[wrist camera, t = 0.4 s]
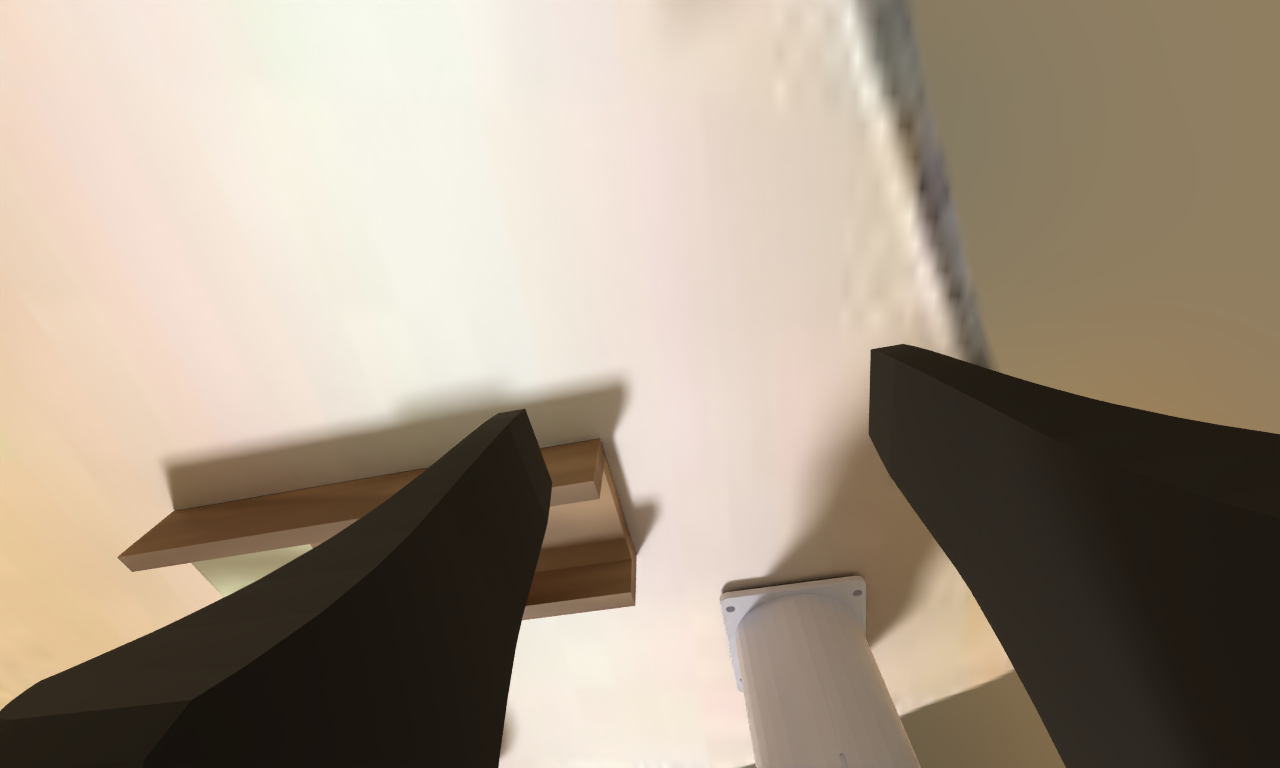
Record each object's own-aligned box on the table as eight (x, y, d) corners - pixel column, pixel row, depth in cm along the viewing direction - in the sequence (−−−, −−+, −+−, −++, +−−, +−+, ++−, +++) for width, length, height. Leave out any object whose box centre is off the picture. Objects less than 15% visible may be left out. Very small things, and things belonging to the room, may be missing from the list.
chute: (636, 556, 26) (635, 605, 23) (261, 609, 29) (222, 658, 26) (599, 438, 22) (593, 480, 20) (173, 511, 25) (117, 557, 22)
